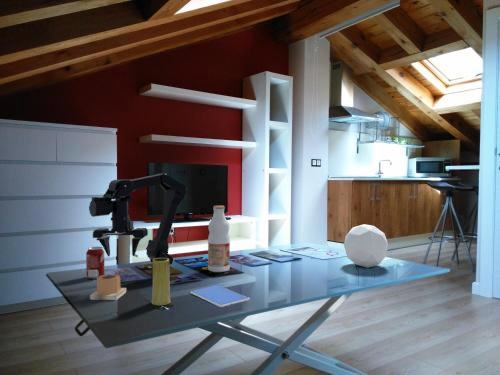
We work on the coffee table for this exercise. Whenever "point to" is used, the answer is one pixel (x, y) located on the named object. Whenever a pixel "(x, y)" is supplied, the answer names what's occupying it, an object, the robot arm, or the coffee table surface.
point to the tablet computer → (219, 296)
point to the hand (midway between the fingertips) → (121, 256)
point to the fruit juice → (218, 242)
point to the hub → (108, 284)
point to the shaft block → (107, 297)
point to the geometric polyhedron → (366, 245)
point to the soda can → (94, 262)
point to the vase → (161, 282)
